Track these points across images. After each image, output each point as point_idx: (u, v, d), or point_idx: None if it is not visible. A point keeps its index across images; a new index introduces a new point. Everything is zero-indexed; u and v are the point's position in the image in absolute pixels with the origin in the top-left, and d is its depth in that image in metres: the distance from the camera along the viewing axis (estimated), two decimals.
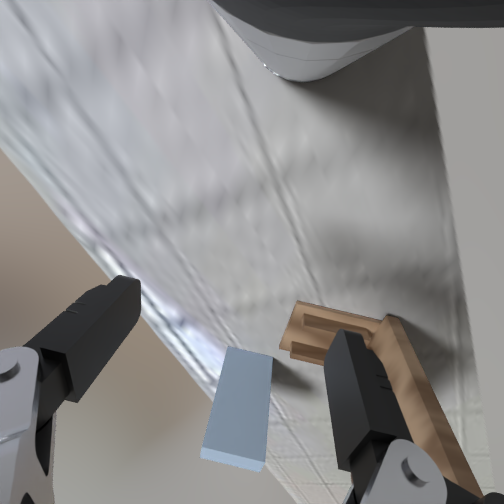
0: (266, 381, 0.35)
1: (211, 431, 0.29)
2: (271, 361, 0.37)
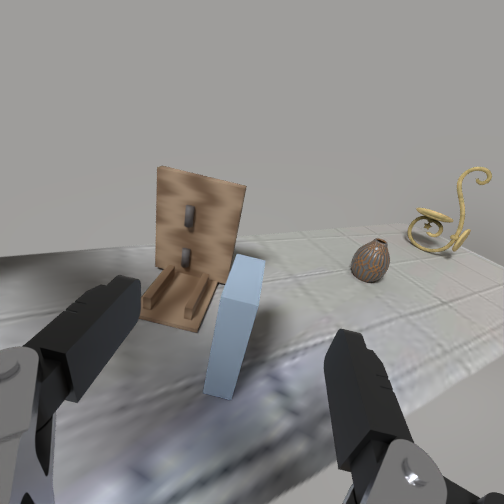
0: None
1: None
2: None
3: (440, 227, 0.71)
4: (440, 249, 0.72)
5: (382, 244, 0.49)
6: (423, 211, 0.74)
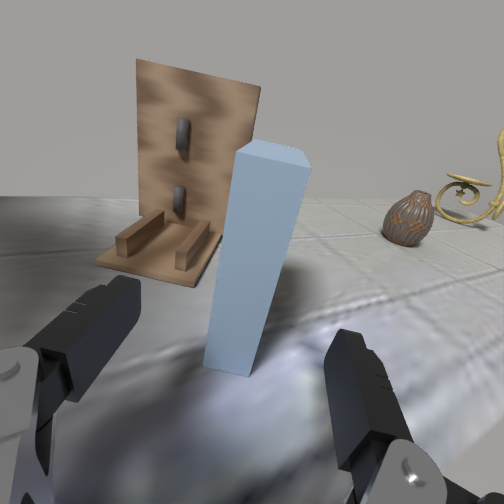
0: None
1: None
2: None
3: (476, 193, 0.61)
4: (476, 219, 0.62)
5: (425, 195, 0.39)
6: None
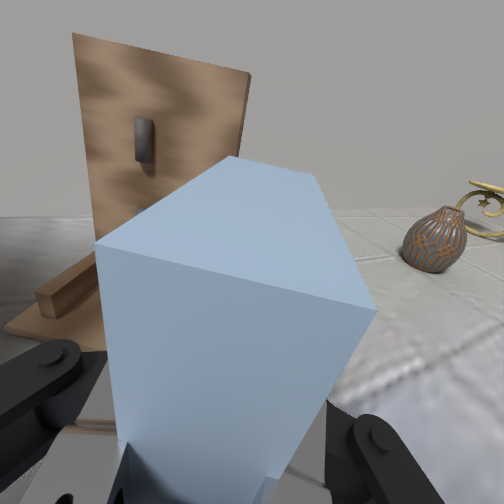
0: None
1: None
2: None
3: (503, 203, 0.54)
4: (503, 232, 0.55)
5: (458, 213, 0.32)
6: None
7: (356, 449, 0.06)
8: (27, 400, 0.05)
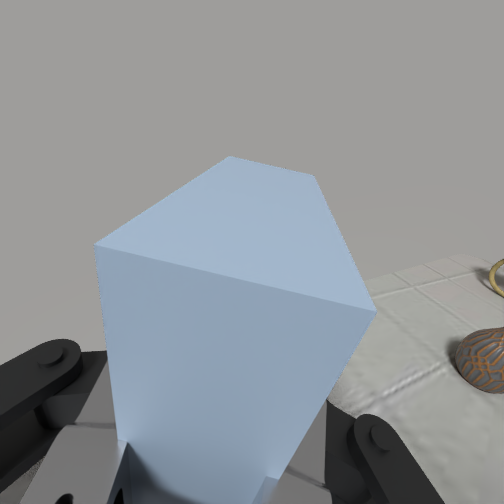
0: None
1: None
2: None
3: None
4: None
5: None
6: None
7: (356, 449, 0.06)
8: (28, 400, 0.05)
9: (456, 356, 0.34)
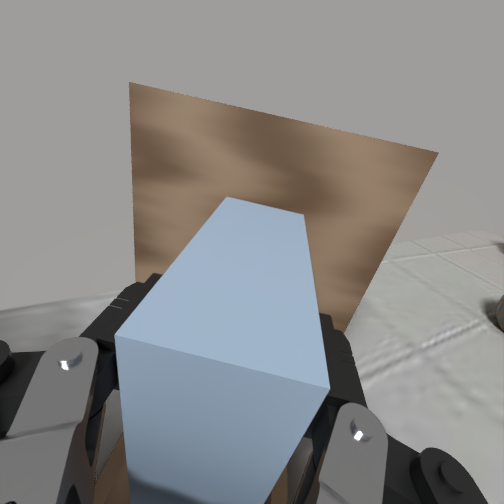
0: None
1: None
2: None
3: None
4: None
5: None
6: None
7: (421, 480, 0.06)
8: None
9: (498, 311, 0.30)
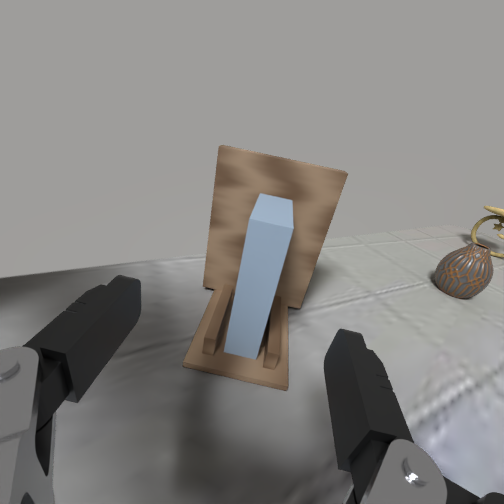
0: None
1: None
2: None
3: None
4: None
5: (485, 250, 0.38)
6: (491, 210, 0.64)
7: None
8: None
9: (435, 274, 0.43)
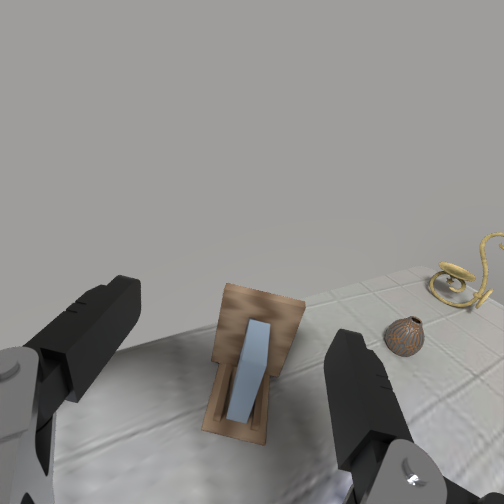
0: (238, 363, 0.40)
1: (240, 364, 0.31)
2: None
3: (463, 284, 0.73)
4: (463, 304, 0.74)
5: (418, 324, 0.51)
6: (445, 266, 0.77)
7: None
8: None
9: (385, 335, 0.57)
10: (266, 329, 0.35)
